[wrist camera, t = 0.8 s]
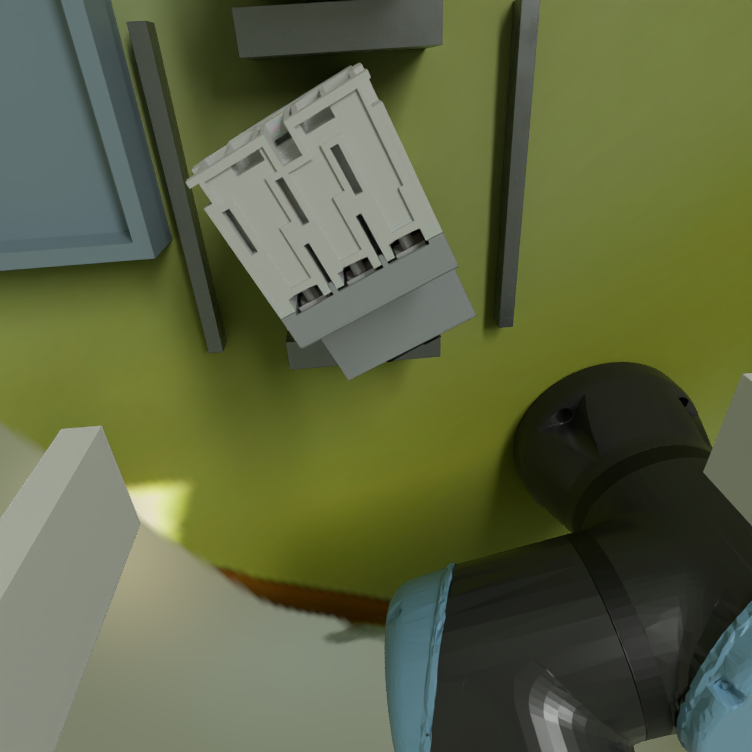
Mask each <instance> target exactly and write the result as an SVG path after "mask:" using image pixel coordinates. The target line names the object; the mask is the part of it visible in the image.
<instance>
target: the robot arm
mask: <svg viewBox="0 0 752 752" xmlns="http://www.w3.org/2000/svg"><path fill="white" fill-rule="evenodd" d="M514 461H515V465H516V468H517V470H518V473H519V475H520V477H521V479H522V481H523V483H524V485H525V487H526V489H527V490H528V492H529V493H530V495H531V496H532V497H533V498H534V499H535V500H536V501H537V502H538V503H539V504H540V505H542V506H543V507H544V508H546V509H547V510H548V511H549V512H550V513H551V514H552V515H553V516H554V517H555V518H556V519H557V520H558V521H559V522H560V523H561V524H563V525H564V526H565V527H566V528H567V529H568V530H569V531H570V532H572V533H570V534H567V535H563V536H559V537H555V538H552V539H548V540H544V541H541V542H537V543H533V544H530V545H526V546H522V547H519V548H515V549H511V550H508V551H504V552H500V553H497V554H493V555H489V556H486V557H482V558H478V559H475V560H471V561H467V562H464V563H460V564H456V563H455V562H453V563H449V564H448V565H447V567H446V568H443V569H440V570H437V571H434V572H431V573H428V574H425V575H422V576H419V577H416V578H413V579H410V580H408V581H406V582H405V583H403V584H402V585H401V586H400V587H399V588H398V589H397V590H396V591H395V593H394V595H393V596H392V599H391V601H390V604H389V608H388V612H387V619H386V629H385V676H386V691H387V701H388V712H389V719H390V727H391V734H392V740H393V745H394V750H395V752H635V751H634V745H635V744H637V743H640V742H642V741H646V740H650V739H654V738H658V737H662V736H666V735H672V734H677V735H678V739H679V741H680V743H681V745H682V747H684V748H685V750H686V751H688V752H752V373H749V374H742V376H741V379H740V381H739V384H738V386H737V389H736V391H735V394H734V396H733V399H732V401H731V404H730V406H729V409H728V411H727V414H726V416H725V419H724V421H723V424H722V426H721V429H720V431H719V434H718V436H717V439H716V441H715V444H714V446H713V448H712V446H711V443H710V441H709V439H708V436H707V434H706V431H705V429H704V427H703V424H702V422H701V420H700V418H699V416H698V413H697V410H696V408H695V406H694V404H693V402H692V401H691V399H690V398H689V397H688V395H687V394H686V393H685V392H684V391H683V390H682V389H681V388H680V387H679V386H678V385H677V384H675V383H674V382H673V381H672V380H671V379H670V378H669V377H668V376H666V375H665V374H664V373H662V372H660V371H659V370H657V369H654V368H652V367H649V366H646V365H642V364H638V363H629V362H616V363H607V364H601V365H597V366H593V367H590V368H587V369H584V370H581V371H579V372H576V373H574V374H572V375H570V376H568V377H566V378H564V379H563V380H561V381H559V382H558V383H556V384H555V385H553V386H552V387H551V388H550V389H548V390H547V391H546V392H545V393H544V394H542V395H541V396H540V397H539V398H538V399H537V400H536V401H535V403H534V404H533V405H532V406H531V407H530V409H529V410H528V411H527V413H526V414H525V416H524V418H523V419H522V421H521V423H520V425H519V428H518V430H517V433H516V437H515V441H514ZM139 526H140V521H139V519H138V516H137V514H136V511H135V509H134V506H133V503H132V501H131V498H130V496H129V493H128V491H127V488H126V486H125V483H124V481H123V478H122V476H121V473H120V471H119V468H118V466H117V463H116V461H115V458H114V456H113V453H112V451H111V448H110V446H109V443H108V441H107V438H106V436H105V433H104V431H103V428H102V426H92V427H80V428H68V429H61V430H60V432H59V433H58V435H57V436H56V437H55V439H54V440H53V442H52V443H51V445H50V446H49V448H48V449H47V451H46V452H45V454H44V455H43V456H42V458H41V459H40V461H39V462H38V464H37V465H36V467H35V468H34V470H33V471H32V473H31V474H30V476H29V477H28V479H27V480H26V481H25V483H24V484H23V486H22V487H21V489H20V490H19V492H18V493H17V495H16V496H15V498H14V499H13V500H12V502H11V503H10V505H9V506H8V508H7V509H6V511H5V512H4V514H3V515H2V517H1V518H0V752H54V750H55V747H56V745H57V742H58V739H59V737H60V734H61V732H62V729H63V726H64V724H65V721H66V719H67V716H68V713H69V710H70V708H71V705H72V703H73V700H74V697H75V695H76V692H77V690H78V687H79V684H80V682H81V679H82V676H83V674H84V671H85V668H86V666H87V663H88V660H89V658H90V655H91V653H92V650H93V647H94V645H95V642H96V640H97V637H98V634H99V632H100V629H101V626H102V624H103V621H104V618H105V616H106V613H107V611H108V608H109V605H110V602H111V600H112V597H113V595H114V592H115V589H116V587H117V584H118V582H119V579H120V576H121V574H122V571H123V568H124V566H125V563H126V561H127V558H128V555H129V552H130V550H131V547H132V545H133V542H134V539H135V537H136V534H137V531H138V529H139Z"/></svg>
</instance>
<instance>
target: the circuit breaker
mask: <svg viewBox="0 0 752 752" xmlns="http://www.w3.org/2000/svg"><path fill="white" fill-rule="evenodd" d="M369 78H371V76H370V74H369V72H368V70H367V69H364V67H363V65H362V64H361V63H357V64H356V65H354V66H351V65H350V66H347V67H346V68H344V69H342V70H341V71H339V72H338V73H336V74H334V75H333V76H331V77H330V78H328V79H326V80H325V81H323V82H322V83H320V84H318V85H317V86H315V87H314V88H312V89H310V90H309V91H307V92H306V93H304V94H302V95H301V96H299V97H298V98H296V99H294V100H293V101H291V102H290V103H288V104H286V105H285V106H283V107H282V108H280V109H278V110H277V111H275V112H274V113H272V114H270V115H269V116H267V117H266V118H264V119H262V120H261V121H259V122H258V123H256V124H254V125H253V126H251V127H250V128H248V129H246V130H245V131H243V132H242V133H240V134H239V135H237V136H236V137H234V138H233V139H232V140H230V141H229V142H228V143H229V144H227V145H226V146H224V147H223V148H221V149H219V150H218V151H216V152H214V153H213V154H211V155H210V156H208V157H206V158H205V159H203V160H202V161H201V162H199V163H198V164H196V165H195V166H194V167H193V169H192V172H193V173H194V175H193V176H192V177H190V178H188V179H187V180H186V182H185V183H186V184H187V185H188V187H189V188H192V187H194V186H195V185H197V184H199V185H200V186H201V188H202V189H203V191H204V192H205V194H206V195H207V197H208V198H209V200H210V201H211V202H210V203H209V204H208V205H207V206H206V207H205V208H204V210H205V211H206V213H207V214H208V216H209V217H210V218H211V220H212V221H213V223H214V224H215V226H216V227H217V229H218V230H219V231H220V233H221V234H222V236H223V237H224V239H225V240H226V241H227V243H228V244H229V246H230V247H231V249H232V250H233V252H234V253H235V254H236V256H237V257H238V259H239V260H240V262H241V263H242V264H243V266H244V267H245V269H246V270H247V272H248V273H249V274H250V276H251V277H252V279H253V280H254V282H255V283H256V285H257V286H258V287H259V289H260V290H261V292H262V293H263V295H264V296H265V297H266V299H267V300H268V302H269V303H270V305H271V306H272V308H273V309H274V310H275V312H276V313H277V315H278V316H279V318H280V319H281V320H282V322H283V323H284V325H285V326H286V328H287V329H288V330H289V332H290V333H291V335H292V336H293V338H294V339H295V341H296V342H297V343H298V345H299V346H300V348H301V349H303V348H305V347H307V346H309V345H311V344H313V343H315V342H317V341H319V340H320V339H321V340H322V341H323V343H324V344H325V346H326V347H327V349H328V350H329V352H330V353H331V355H332V356H333V358H334V359H335V361H336V362H337V364H338V365H339V367H340V368H341V370H342V371H343V373H344V374H345V376H346V377H347V379H348V380H350V379H352V378H354V377H356V376H358V375H360V374H362V373H364V372H366V371H368V370H370V369H372V368H374V367H376V366H378V365H380V364H382V363H384V362H391V361H394V360H395V359H397V358H399V357H401V356H402V355H404V354H406V353H408V352H410V351H412V350H414V349H415V348H417V347H419V346H421V345H423V344H424V345H426V344H428V343H430V342H432V341H434V340H435V339H437V338H439V337H441V336H440V334H442V333H444V332H446V331H448V330H450V329H452V328H454V327H455V326H457V325H459V324H461V323H463V322H465V321H467V320H469V319H471V318H473V317H475V316H476V314H475V312H474V310H473V308H472V305H471V303H470V301H469V299H468V297H467V295H466V293H465V290H464V288H463V286H462V284H461V282H460V280H459V278H458V276H457V273H456V271H455V269H456V268H457V267H458V264H457V262H456V260H455V258H454V255H453V253H452V251H451V249H450V247H449V245H448V243H447V240H446V238H445V236H444V234H443V232H442V230H441V227H440V225H439V223H438V221H437V219H436V217H435V214H434V212H433V210H432V208H431V206H430V204H429V201H428V199H427V197H426V195H425V193H424V191H423V188H422V186H421V184H420V182H419V180H418V178H417V176H416V173H415V171H414V169H413V167H412V165H411V163H410V160H409V158H408V156H407V154H406V152H405V150H404V147H403V145H402V143H401V141H400V139H399V137H398V134H397V132H396V130H395V128H394V126H393V124H392V121H391V119H390V117H389V115H388V113H387V111H386V109H385V106H384V104H383V102H382V101H380V100H379V99H378V97H377V95H376V93H375V91H374V89H373V87H372V85H371V82H370V80H369Z"/></svg>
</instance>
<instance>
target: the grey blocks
mask: <svg viewBox="0 0 752 752" xmlns="http://www.w3.org/2000/svg"><path fill="white" fill-rule="evenodd" d="M539 9H540V0H515V1H514V4H513V20H512V36H511V51H510V67H509V83H508V99H507V115H506V130H505V146H504V162H503V178H502V194H501V209H500V225H499V241H498V257H497V273H496V288H495V304H494V321H495V322H496V324H497V325H498V327H499V328H502V327H513V317H514V305H515V293H516V281H517V270H518V258H519V246H520V234H521V222H522V210H523V198H524V187H525V175H526V163H527V151H528V139H529V127H530V115H531V104H532V92H533V80H534V68H535V56H536V44H537V32H538V21H539ZM232 14H233V20H234V26H235V32H236V38H237V45H238V51H239V57H240V58H245V59H251V60H256V59H271V58H287V57H302V56H318V55H333V54H348V53H364V52H379V51H395V50H410V49H426V48H430V47H434V46H439V45H442V27H443V0H352V1H336V2H319V3H303V4H286V5H270V6H253V7H237V8H232ZM127 26H128V30H129V34H130V38H131V42H132V46H133V50H134V54H135V58H136V62H137V66H138V70H139V74H140V78H141V82H142V86H143V90H144V94H145V98H146V102H147V106H148V110H149V114H150V118H151V122H152V126H153V130H154V134H155V138H156V142H157V147H158V151H159V155H160V159H161V163H162V167H163V171H164V175H165V179H166V183H167V187H168V191H169V195H170V199H171V203H172V207H173V211H174V215H175V219H176V223H177V227H178V231H179V235H180V239H181V243H182V247H183V251H184V255H185V259H186V263H187V267H188V271H189V275H190V279H191V283H192V287H193V291H194V295H195V299H196V303H197V307H198V311H199V315H200V319H201V323H202V327H203V331H204V335H205V339H206V343H207V347H208V351H209V353H215V352H223V351H224V348H225V345H226V343H227V342H226V338H225V333H224V329H223V324H222V320H221V316H220V311H219V307H218V302H217V298H216V294H215V289H214V285H213V280H212V276H211V272H210V267H209V263H208V258H207V254H206V250H205V245H204V241H203V236H202V232H201V228H200V223H199V219H198V214H197V210H196V206H195V201H194V197H193V192H192V188H189V187H188V185H187V184H186V183H185V182H186V180H187V179H188V178H189V175H188V170H187V166H186V161H185V157H184V153H183V148H182V144H181V139H180V135H179V131H178V126H177V122H176V117H175V113H174V109H173V104H172V100H171V95H170V91H169V87H168V82H167V78H166V73H165V69H164V65H163V60H162V56H161V51H160V47H159V42H158V38H157V34H156V29H155V25H154V23H152V22H149V21H133V22H127ZM286 347H287V353H288V359H289V365H290V370H293V369H304V368H315V367H327V366H338V364H337V362H336V361H335V359H334V358H333V356H332V355H331V353H330V352H329V350H328V349H327V347H326V346H325V344H324V343H323V341H322V340H321V339H320V340H319V341H317V342H315V343H313V344H311V345H309V346H307V347H305V348H303V349H301V348H300V346H299V345H298V343H297V342H296V341H295V339H294V338H293V336H292V335H291V333H290V332H289V330H288V332H287V338H286ZM439 356H440V337H439V338H437V339H435V340H434V341H432V342H430V343H428V344H426V345H424V344H423V345H421V346H419V347H417V348H415V349H414V350H412V351H410V352H408V353H406V354H404V355H402V356H401V357H399V358H397V359H395V360H405V359H417V358H428V357H439Z"/></svg>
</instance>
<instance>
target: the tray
mask: <svg viewBox="0 0 752 752" xmlns="http://www.w3.org/2000/svg"><path fill="white" fill-rule="evenodd" d="M171 241H172V237H171V233H170V229H169V225H168V221H167V218H166V214H165V210H164V206H163V202H162V198H161V194H160V190H159V186H158V183H157V179H156V175H155V171H154V167H153V163H152V159H151V155H150V152H149V148H148V144H147V140H146V136H145V132H144V128H143V124H142V120H141V117H140V113H139V109H138V105H137V101H136V97H135V93H134V89H133V86H132V82H131V78H130V74H129V70H128V66H127V62H126V58H125V54H124V51H123V47H122V43H121V39H120V35H119V31H118V27H117V23H116V19H115V16H114V12H113V8H112V4H111V0H0V271H4V270H16V269H29V268H41V267H54V266H67V265H79V264H92V263H104V262H117V261H129V260H142V259H155V258H156V257H157V256H158V255H159V254H160V252H161V251H162V250H163V249H164V248H165V247H166V246H167V245H168V244H169V243H170V242H171Z"/></svg>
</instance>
